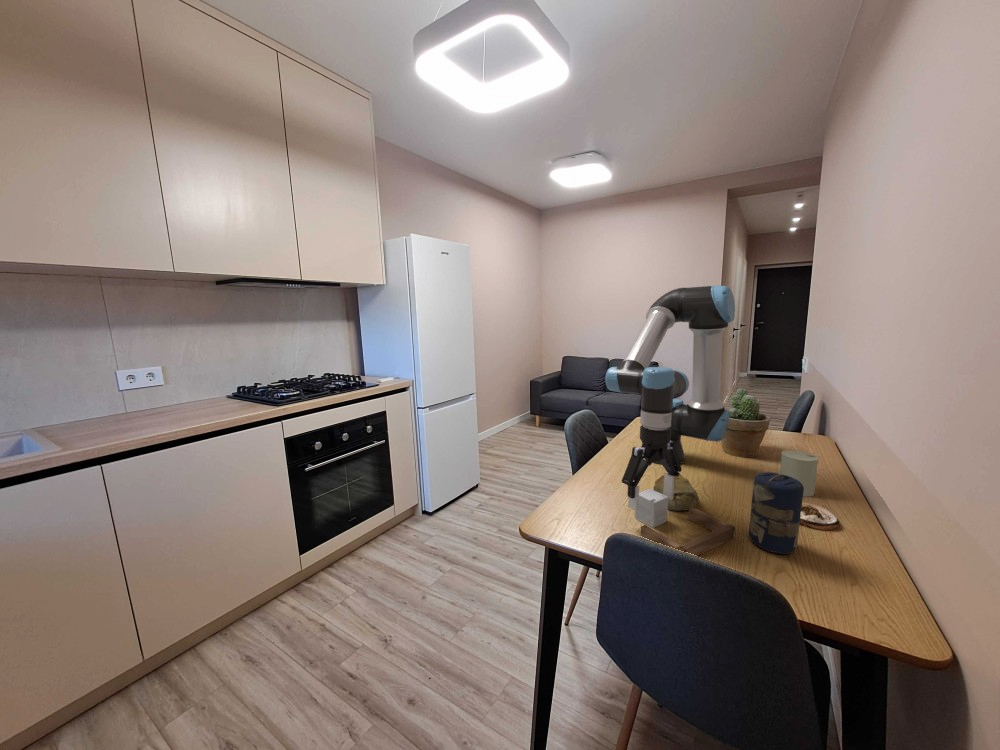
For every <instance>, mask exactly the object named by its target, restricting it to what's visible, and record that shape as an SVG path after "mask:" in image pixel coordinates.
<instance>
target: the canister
mask: <svg viewBox="0 0 1000 750" xmlns="http://www.w3.org/2000/svg"><path fill="white" fill-rule="evenodd" d="M752 487H753V488H752V496H751V502H750V503H751V504H750V514H749V515H750V517H749V525H748V527H749V528H748V537H749V539H750V540H751V542H752V543H754V544H755V545H756V546H758V547H759V548H761V549H763V550H765V551H768V552H772V553H775V554H781V555H785V554H786V555H787V554H792V553H794V552H795V551H796V550H797V547H798V539H799V533H800V526H801V525H800V515H801V508H802V503H803V499H804V496H803V492H804V487H803V485H802V483H801V482H799V481H798V480H796V479H794V478H792V477H790V476H787V475H783V474H780V472H779V473H777V472H770V471H769V472H768V471H766V472H759V473H757V474H756V475H755V476H754V480H753V486H752Z"/></svg>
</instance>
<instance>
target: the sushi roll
mask: <svg viewBox="0 0 1000 750" xmlns="http://www.w3.org/2000/svg"><path fill="white" fill-rule="evenodd" d="M799 526H801V527H806V528H809V529H812V530H816V531H817V530H818V531H823V530H824V531H826V530H827V531H828V530H833V529H835V528H837V527H838V526H840V521H839V519H838V518H837V516H836V515H835V514H834V513H832V512H831V511H830V510H828V509H827V508H826V507H824V506H820V505H817V504H813V503H808V502H802V508H801V515H800V525H799Z"/></svg>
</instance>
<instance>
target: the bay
mask: <svg viewBox="0 0 1000 750" xmlns="http://www.w3.org/2000/svg"><path fill="white" fill-rule="evenodd" d="M687 518H688V520H691V521H693V522H694V523H696V524H699V525H700V526H703V527H704V528H707V529H708V530H710V532H708V533H706V534H704V535H702V536H700V537H697V538H695V539H692V540H690V541H688V542H686V543H683V544H681V545H680V544H679V543H677V542H675V541H674V540H671V539H670V538H668V537H666V536H665V535H663V534H662V533H660V532H658V531H656V530H654V528H652V527H650V526H648V525H647V524H644V525H641V526H640V536H642V537H644V538H647V539H649V540H652V541H654V542H657V543H661V544H663V545H666V546H669V547H672V548H675V549H678V550H681V551H684V552H688V553H691V554H694V555H698V556H699V555H702V554H704V553H706V552H708V551H710V550H712V549H715V548H716V547H718V546H721V545H722V544H723V545H724V543H727V542H729V541H731V540H733V539H734V538H735V531H736V530H735V529H736V526H734V525H732V524H730V523H728V522H725V521H723V520H721V519H718V518H717V517H715V516H713V515H711V514H709V513H707V512H705V511H703V510H700V509H698V508H697V507H695V508H694V507H691V508H689V510H688V517H687ZM703 552H704V553H703Z"/></svg>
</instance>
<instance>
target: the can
mask: <svg viewBox="0 0 1000 750" xmlns="http://www.w3.org/2000/svg"><path fill="white" fill-rule="evenodd" d="M818 463H819V457H818V456H817V455H815V454H814V453H810V452H805V451H802V450H794V449H785V450H782V451H781V457H780V466H779V467H780V468H779V474H783V475H787V476H790V477H792V478H794V479H796V480H798V481H799V482H801V483H802V485H803V487H804V492H803V498H804V497H807V498H808V497H813V496H814V495H815V494H816V493H815V488H816V479H817V471H818V470H817V469H818Z"/></svg>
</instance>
